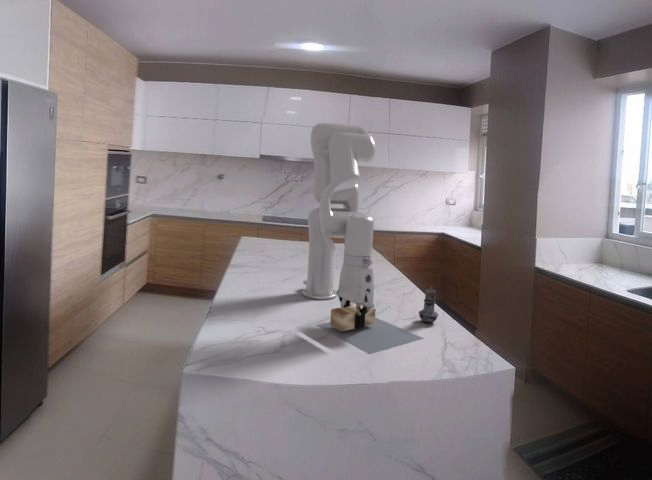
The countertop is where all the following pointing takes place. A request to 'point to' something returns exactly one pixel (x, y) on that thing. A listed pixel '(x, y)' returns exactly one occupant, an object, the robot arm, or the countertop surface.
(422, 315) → the grey chess piece
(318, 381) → the countertop surface
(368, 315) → the beige brown block
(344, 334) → the slate mat
